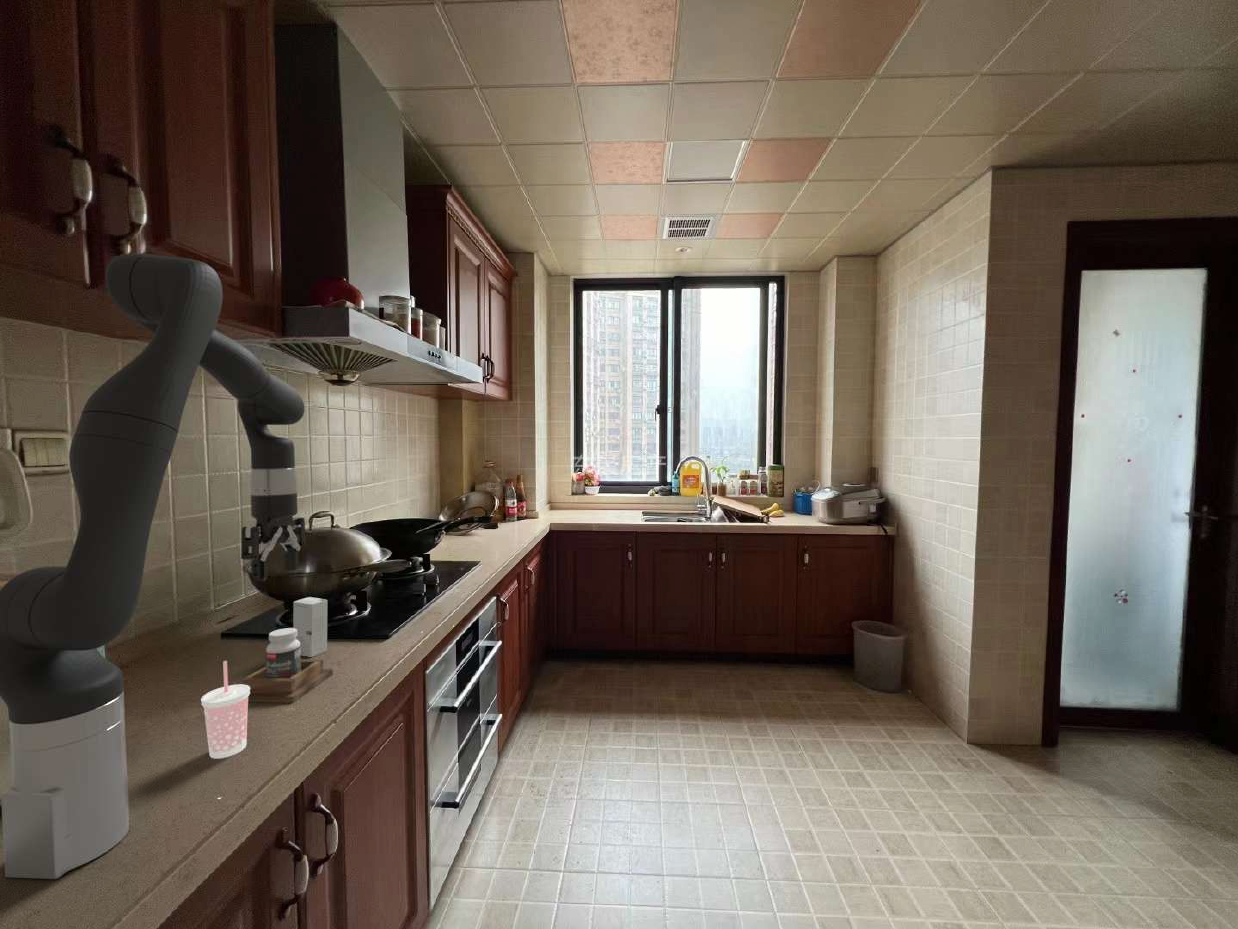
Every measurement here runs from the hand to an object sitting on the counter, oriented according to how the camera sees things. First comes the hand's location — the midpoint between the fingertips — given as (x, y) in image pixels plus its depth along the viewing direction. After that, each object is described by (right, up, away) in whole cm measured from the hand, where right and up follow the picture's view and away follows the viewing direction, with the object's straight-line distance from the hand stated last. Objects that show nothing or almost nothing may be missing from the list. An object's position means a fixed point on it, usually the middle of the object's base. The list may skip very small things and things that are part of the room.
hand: (276, 575), depth 102 cm
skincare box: (-4, -22, +19) cm, 29 cm away
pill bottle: (+1, -21, +1) cm, 21 cm away
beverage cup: (+6, -23, -20) cm, 31 cm away
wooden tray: (+1, -22, +1) cm, 22 cm away
